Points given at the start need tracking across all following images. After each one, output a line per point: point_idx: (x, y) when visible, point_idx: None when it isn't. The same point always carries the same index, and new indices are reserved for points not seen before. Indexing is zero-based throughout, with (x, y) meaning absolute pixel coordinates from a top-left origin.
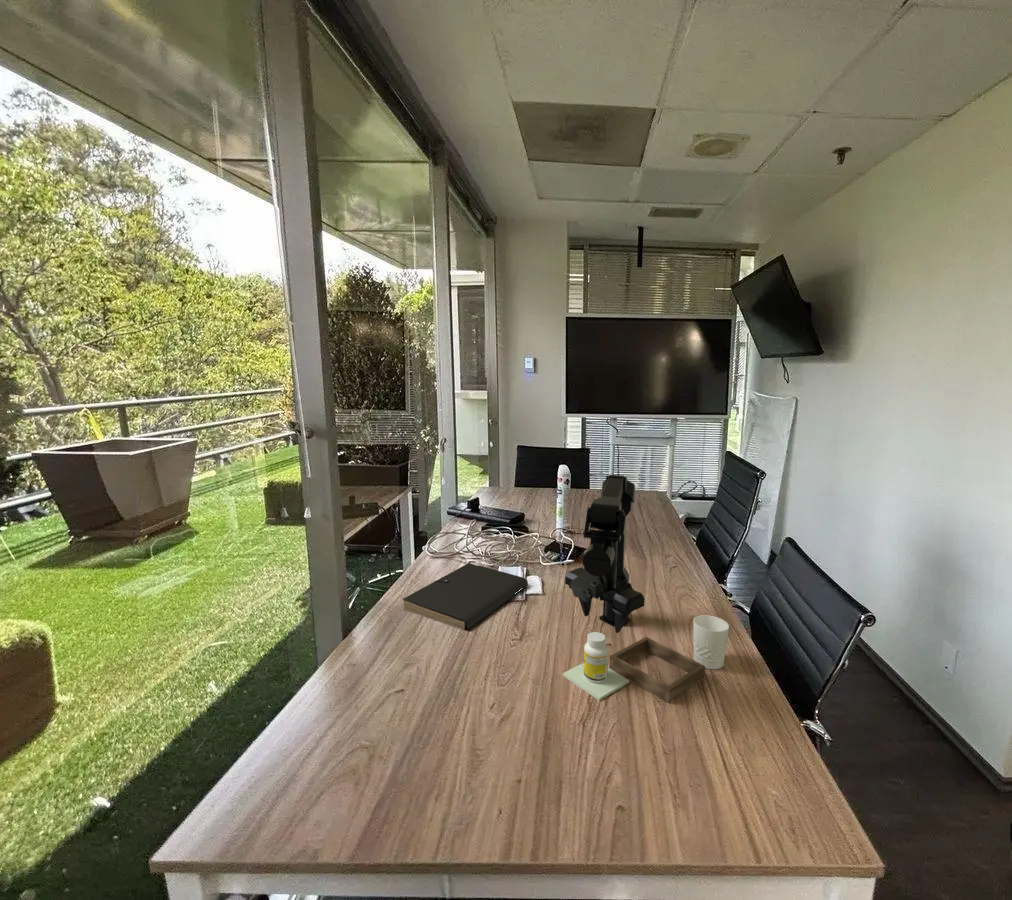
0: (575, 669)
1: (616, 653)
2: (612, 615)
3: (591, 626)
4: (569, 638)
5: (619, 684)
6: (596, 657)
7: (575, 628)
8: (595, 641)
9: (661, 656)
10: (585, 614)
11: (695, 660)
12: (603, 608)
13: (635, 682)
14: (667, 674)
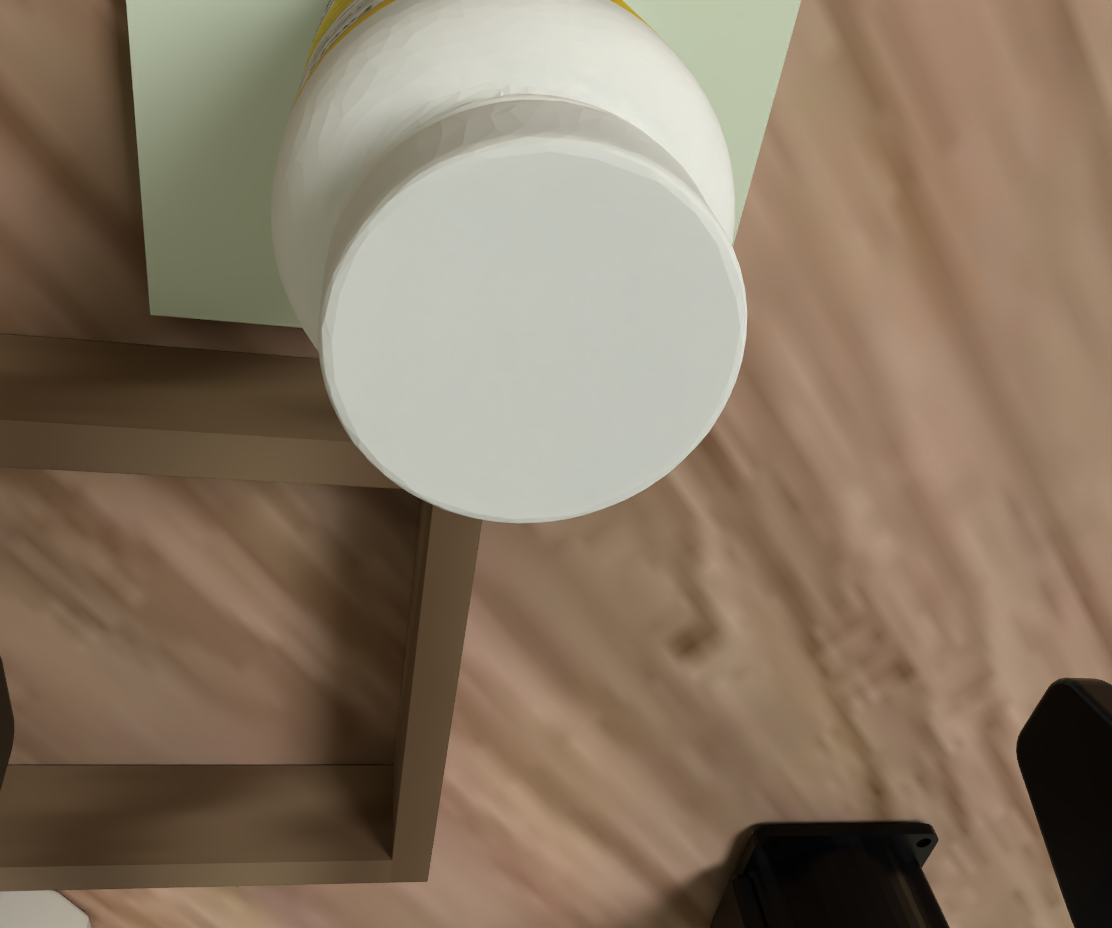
0: (752, 24)
1: (466, 535)
2: (837, 907)
3: (945, 724)
4: (1060, 480)
5: (159, 164)
6: (357, 24)
7: (1063, 625)
8: (425, 162)
9: (233, 782)
10: (1100, 714)
11: (23, 893)
12: (945, 925)
13: (103, 346)
14: (32, 647)
